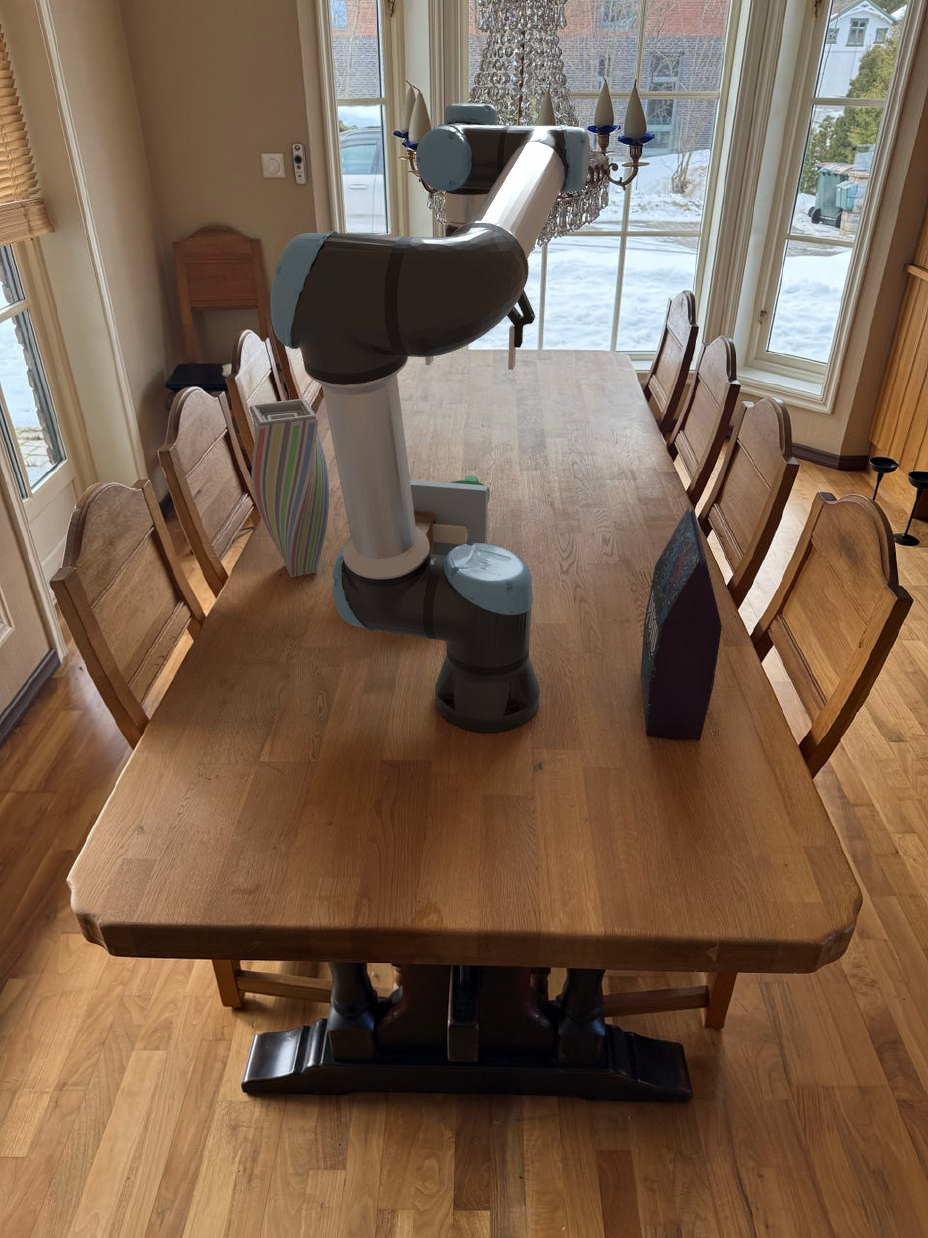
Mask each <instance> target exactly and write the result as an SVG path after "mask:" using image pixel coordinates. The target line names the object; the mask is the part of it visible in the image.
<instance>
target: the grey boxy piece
mask: <svg viewBox="0 0 928 1238" xmlns="http://www.w3.org/2000/svg"><path fill="white" fill-rule="evenodd" d="M410 484H411V492H412V501H413V509H414V511H420V512H432V513H436V524H432V525H433V554H437V555H443V556H447V554H448V553H449V552H450V551H451V550H452V549H454V548H455V547H457V546H460V545H464V544H467V545H470V546H471V545H472V543H485V544H488V519H489V518H488V516H489V515H488V514H489V513H488V507H489V502H488V488H489V486H488V485H486V484H484V485H473V484H460V483H449V482H447V481H446V482H445V481H433V480H420V479H419V480H417V479H410ZM485 485H486V486H485Z"/></svg>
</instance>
